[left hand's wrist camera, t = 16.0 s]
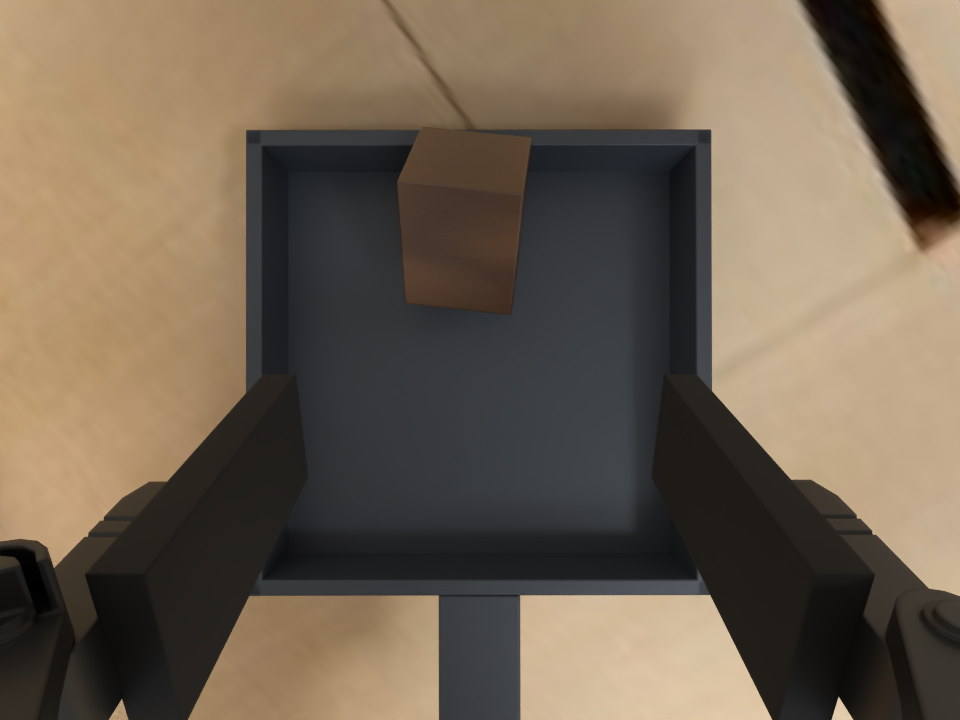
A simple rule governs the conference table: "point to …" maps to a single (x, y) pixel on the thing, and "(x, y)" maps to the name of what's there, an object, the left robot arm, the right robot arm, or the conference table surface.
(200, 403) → the conference table surface
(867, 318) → the conference table surface
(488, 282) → the walnut block
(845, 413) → the conference table surface
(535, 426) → the pan
